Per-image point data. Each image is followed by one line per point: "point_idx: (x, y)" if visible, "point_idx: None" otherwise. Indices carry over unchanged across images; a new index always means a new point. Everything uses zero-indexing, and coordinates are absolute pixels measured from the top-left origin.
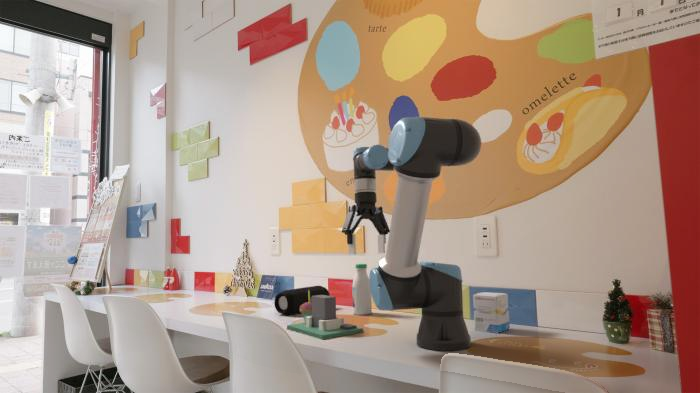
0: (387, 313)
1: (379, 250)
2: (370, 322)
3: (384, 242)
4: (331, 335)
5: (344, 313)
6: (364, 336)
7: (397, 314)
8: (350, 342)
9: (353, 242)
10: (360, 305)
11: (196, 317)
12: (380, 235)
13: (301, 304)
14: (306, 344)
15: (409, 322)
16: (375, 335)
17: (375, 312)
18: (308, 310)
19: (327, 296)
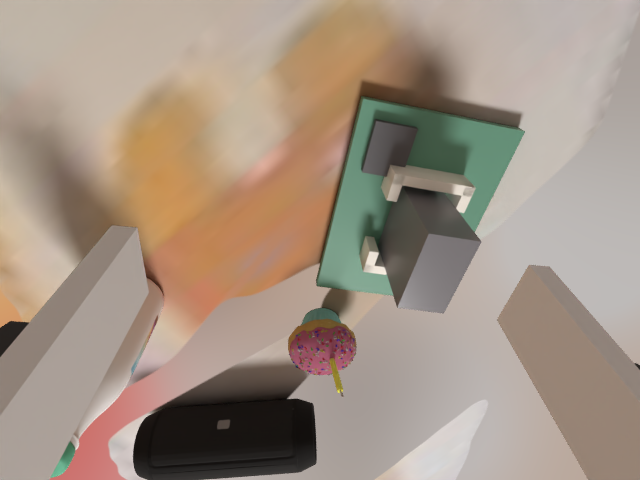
0: (56, 241)
1: (134, 298)
2: (218, 184)
3: (39, 317)
4: (490, 123)
5: (174, 329)
6: (420, 38)
7: (34, 204)
8: (526, 13)
9: (628, 367)
10: (145, 303)
11: (426, 472)
12: (12, 467)
13: (265, 411)
14: (594, 118)
15: (102, 61)
16: (386, 12)
17: None
18: (350, 333)
19: (431, 265)
